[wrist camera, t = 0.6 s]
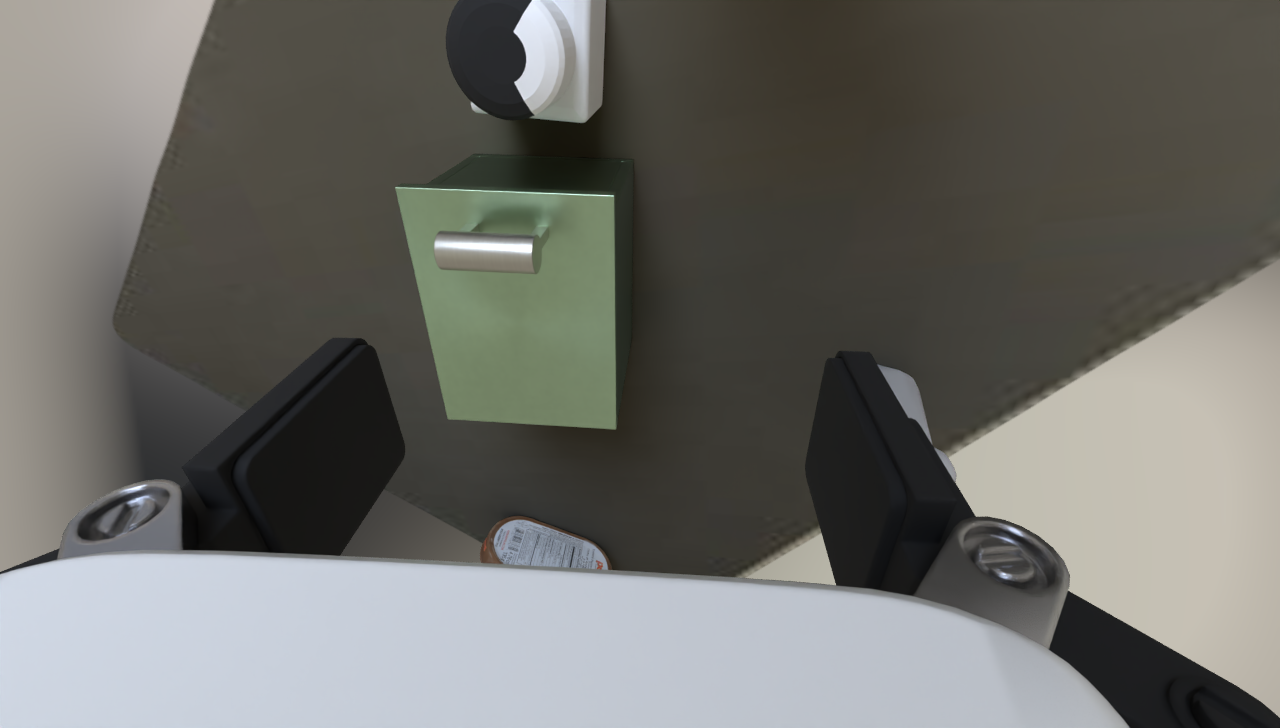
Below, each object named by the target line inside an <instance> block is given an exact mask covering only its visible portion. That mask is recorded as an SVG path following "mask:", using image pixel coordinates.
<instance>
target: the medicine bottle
mask: <svg viewBox="0 0 1280 728" xmlns="http://www.w3.org/2000/svg"><path fill="white" fill-rule="evenodd" d="M605 15H606V0H459V1H458V2H457V4H456V6H455V7H454V9H453V11H452V13H451V16H450V18H449V22H448V26H447V33H446V50H447V57H448V61H449V65H450V68H451V71H452V73H453V76H454V78H455V80H456V82H457V84H458V85H459V87H460V88H461V90H462V91H463V93H464V94H465V95H466V96H467V97H468V99H469V100H470V101H471V107H472V109H473V111H474V112H477V113H484V114H490V115H492V116H495V117H497V118H501V119H505V120H522V119H526V118H535V119H546V120H556V121H566V122H576V123H585V122H586V121H587V120H588V119H589V118H590V117H591V116H592V115H593V114H594V113H595V112H596V111H597V110H598V109H599V108H600V107H601V106H602V99H603V71H604V43H605Z"/></svg>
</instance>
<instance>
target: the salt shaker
mask: <svg viewBox="0 0 1280 728" xmlns="http://www.w3.org/2000/svg"><path fill="white" fill-rule="evenodd" d="M877 365H878V364H877ZM878 367H879V368H880V370H881V372H882V373H883V375H884V377H885V379H886V380H887V382H888V384H889V385H890V387H891V389H892V390H893V392H894V394H895V396H896V397H897V399H898V401H899V402H900V404H901V406H902V407H903V409H904V411H905V413H906V414H907V416H908V418H913V419H915V420H916V421H917V422H918V423H919V424H920V426H921V427H922V429H923V431H924V432H925V434H926V435H927V437H928V439H929V440H930V442H931V444H932V441H931V437H930V433H929V429H928V425H927V421H926V417H925V412H924V408H923V404H922V400H921V396H920V392H919V389H918V387H917V385H916V383H915V381H914V379H913V378H912V377H911V376H909V375H907V374H905V373H903V372H902V371H900V370H897V369H893V368H889V367H885V366H881V365H878ZM934 449H935V450H936V452H937V454H938V455H939V457H940V459H941V460H942V462H943V464H944V465H945V467H946V468H947V470H948V472H949V473H950V475H951V477H952V478H953V480H954V482H956V472H955V469H954V467H953V465H952V463H951V461H950V460H949V458H948V457H947V455H946V454H945V453H943V452H942V451H940V450H938V449H936V448H934Z"/></svg>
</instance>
